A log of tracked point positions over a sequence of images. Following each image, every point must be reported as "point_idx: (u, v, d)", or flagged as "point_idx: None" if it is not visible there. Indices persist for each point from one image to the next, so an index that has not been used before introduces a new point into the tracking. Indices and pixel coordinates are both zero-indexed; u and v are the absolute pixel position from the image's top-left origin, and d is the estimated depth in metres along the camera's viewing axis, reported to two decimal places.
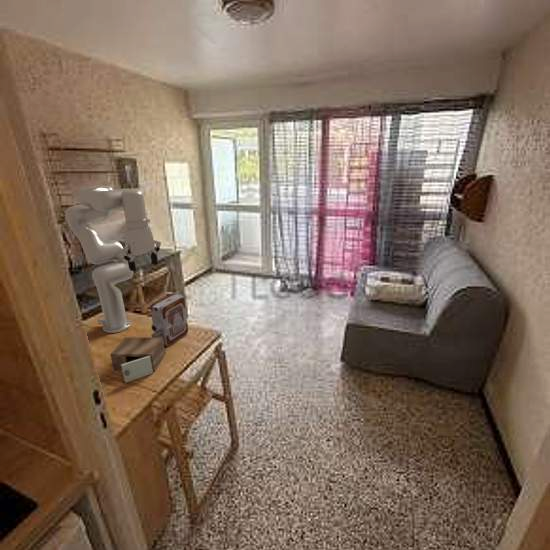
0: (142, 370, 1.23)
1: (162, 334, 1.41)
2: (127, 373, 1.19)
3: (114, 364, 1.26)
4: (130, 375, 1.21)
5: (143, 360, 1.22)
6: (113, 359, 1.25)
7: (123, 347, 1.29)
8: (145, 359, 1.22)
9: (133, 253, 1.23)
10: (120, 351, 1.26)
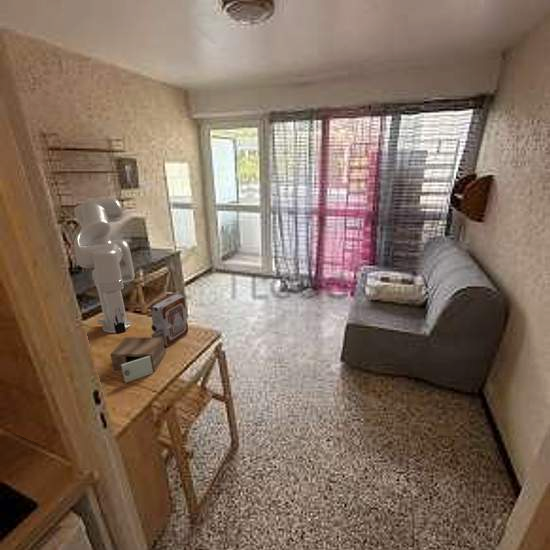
0: (142, 370, 1.23)
1: (162, 334, 1.41)
2: (127, 373, 1.19)
3: (114, 364, 1.26)
4: (130, 375, 1.21)
5: (143, 360, 1.22)
6: (113, 359, 1.25)
7: (123, 347, 1.29)
8: (145, 359, 1.22)
9: (124, 314, 1.13)
10: (120, 351, 1.26)
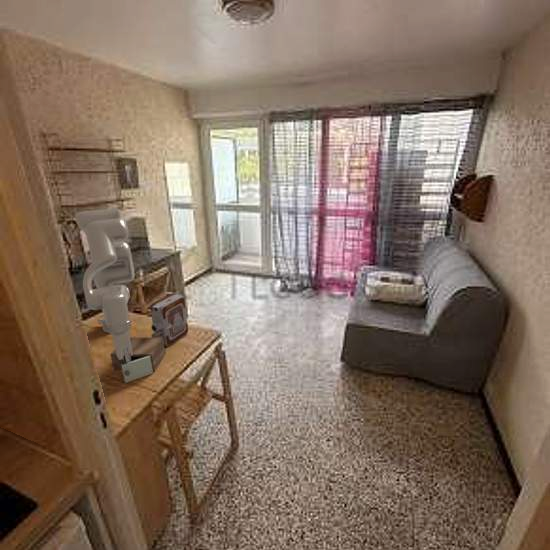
0: (142, 370, 1.23)
1: (162, 334, 1.41)
2: (127, 373, 1.19)
3: (114, 364, 1.26)
4: (130, 375, 1.21)
5: (143, 360, 1.22)
6: (113, 359, 1.25)
7: None
8: (145, 359, 1.22)
9: (132, 354, 1.18)
10: None
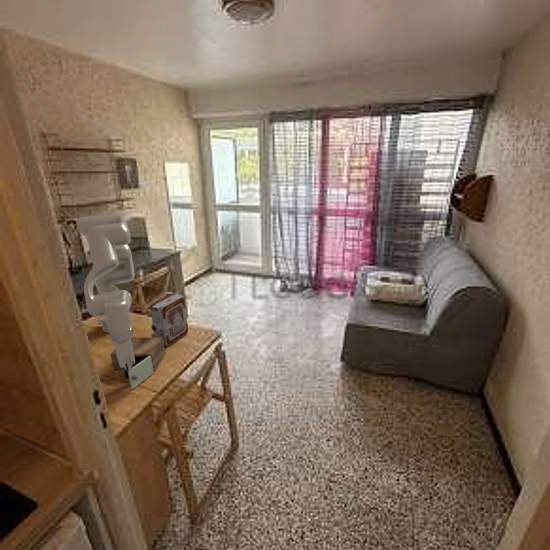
0: (145, 372, 1.22)
1: (162, 334, 1.41)
2: (136, 377, 1.16)
3: (114, 364, 1.26)
4: (136, 380, 1.18)
5: (145, 361, 1.21)
6: (113, 359, 1.25)
7: None
8: (147, 360, 1.22)
9: (134, 362, 1.15)
10: None
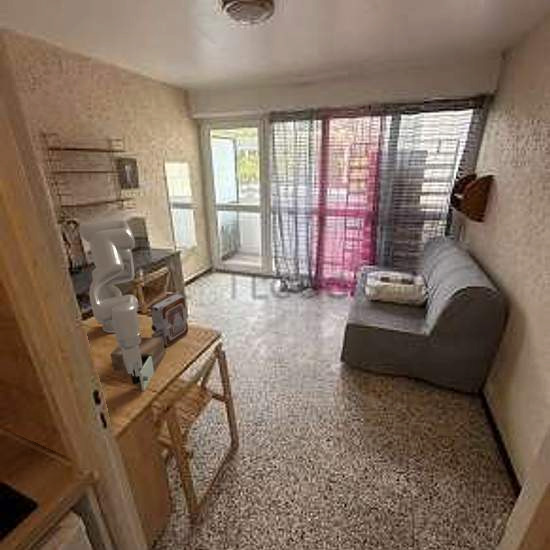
0: (149, 372, 1.22)
1: (162, 334, 1.41)
2: (147, 378, 1.16)
3: (114, 364, 1.26)
4: (145, 381, 1.18)
5: (149, 361, 1.21)
6: (113, 359, 1.25)
7: None
8: (149, 360, 1.22)
9: (142, 368, 1.13)
10: (120, 351, 1.26)
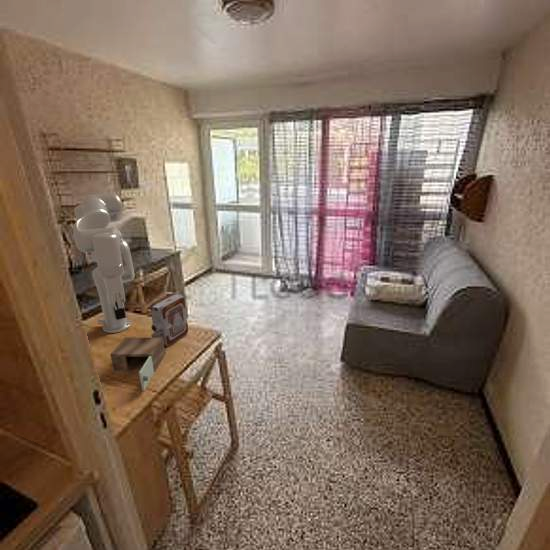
0: (149, 372, 1.22)
1: (162, 334, 1.41)
2: (147, 378, 1.16)
3: (114, 364, 1.26)
4: (145, 381, 1.18)
5: (149, 361, 1.21)
6: (113, 359, 1.25)
7: (123, 347, 1.29)
8: (149, 360, 1.22)
9: (124, 300, 1.11)
10: (120, 351, 1.26)
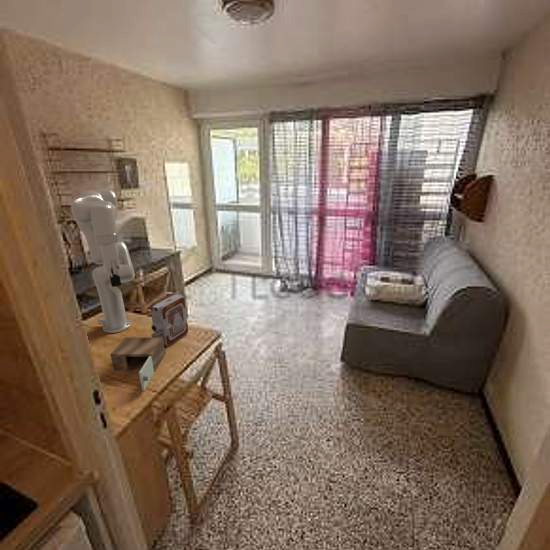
0: (149, 372, 1.22)
1: (162, 334, 1.41)
2: (147, 378, 1.16)
3: (114, 364, 1.26)
4: (145, 381, 1.18)
5: (149, 361, 1.21)
6: (113, 359, 1.25)
7: (123, 347, 1.29)
8: (149, 360, 1.22)
9: (119, 267, 1.20)
10: (120, 351, 1.26)
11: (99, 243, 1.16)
